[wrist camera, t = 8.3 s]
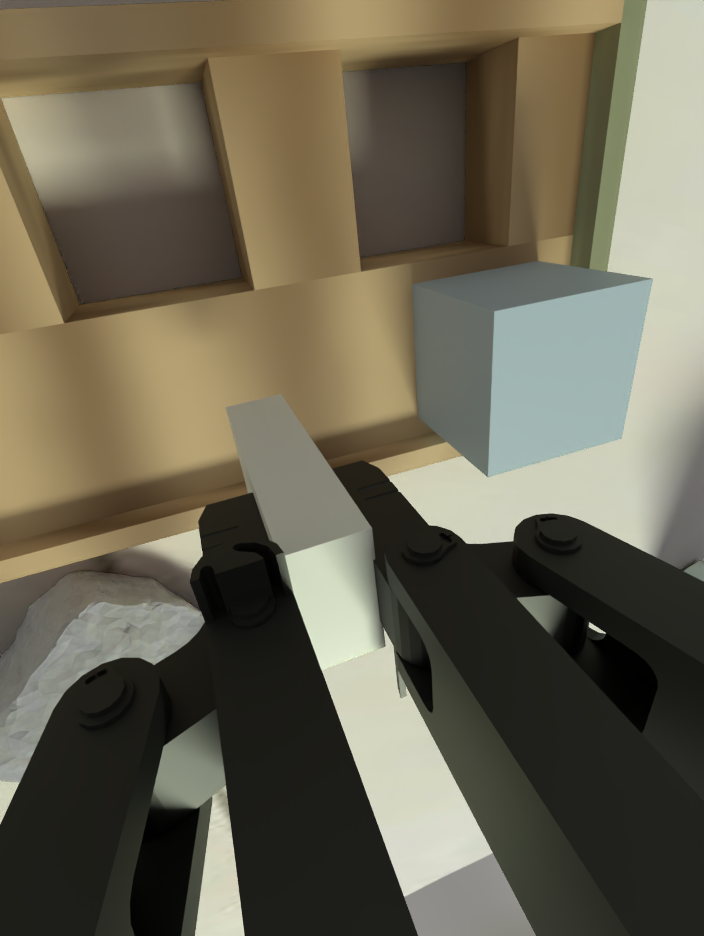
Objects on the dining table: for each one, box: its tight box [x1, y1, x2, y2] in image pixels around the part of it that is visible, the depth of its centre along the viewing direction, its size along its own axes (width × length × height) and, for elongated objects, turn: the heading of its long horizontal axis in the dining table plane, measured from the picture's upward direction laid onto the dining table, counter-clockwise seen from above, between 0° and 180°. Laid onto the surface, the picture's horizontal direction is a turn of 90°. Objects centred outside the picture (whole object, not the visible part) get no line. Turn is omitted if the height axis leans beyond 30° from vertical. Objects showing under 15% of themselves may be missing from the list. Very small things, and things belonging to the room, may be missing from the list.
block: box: [412, 261, 653, 477], centre depth 16 cm, size 5×5×5 cm
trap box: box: [0, 0, 647, 583], centre depth 16 cm, size 24×14×4 cm, turn 96°
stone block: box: [0, 571, 205, 782], centre depth 23 cm, size 12×5×10 cm
